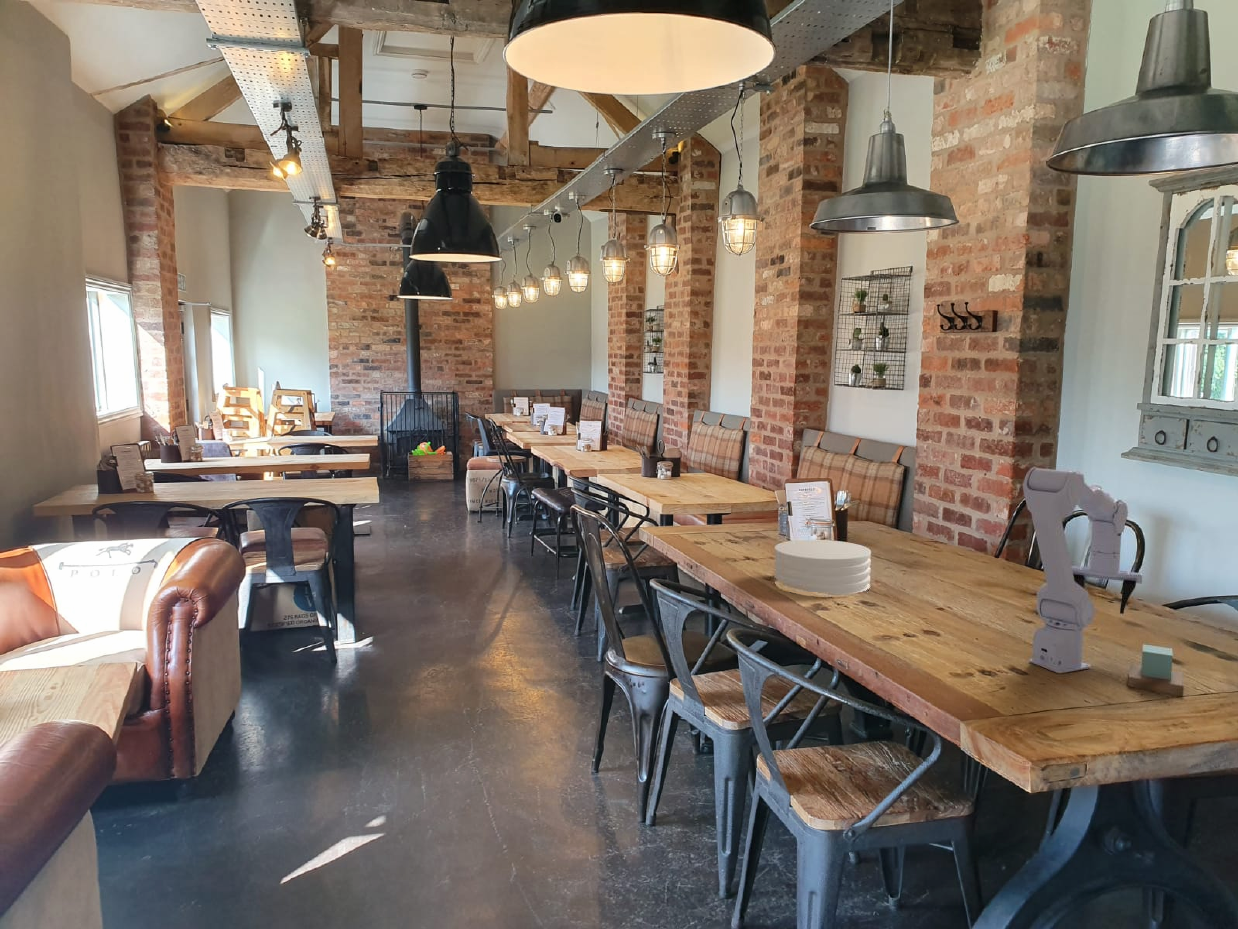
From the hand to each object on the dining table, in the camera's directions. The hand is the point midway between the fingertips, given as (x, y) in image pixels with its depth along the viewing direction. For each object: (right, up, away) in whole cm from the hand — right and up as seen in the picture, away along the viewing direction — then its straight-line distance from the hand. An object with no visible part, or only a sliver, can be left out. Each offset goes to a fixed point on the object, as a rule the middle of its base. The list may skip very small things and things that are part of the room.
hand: (1101, 610), depth 184 cm
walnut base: (-1, -12, -20) cm, 23 cm away
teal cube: (-1, -9, -19) cm, 22 cm away
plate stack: (-49, -4, +60) cm, 78 cm away
